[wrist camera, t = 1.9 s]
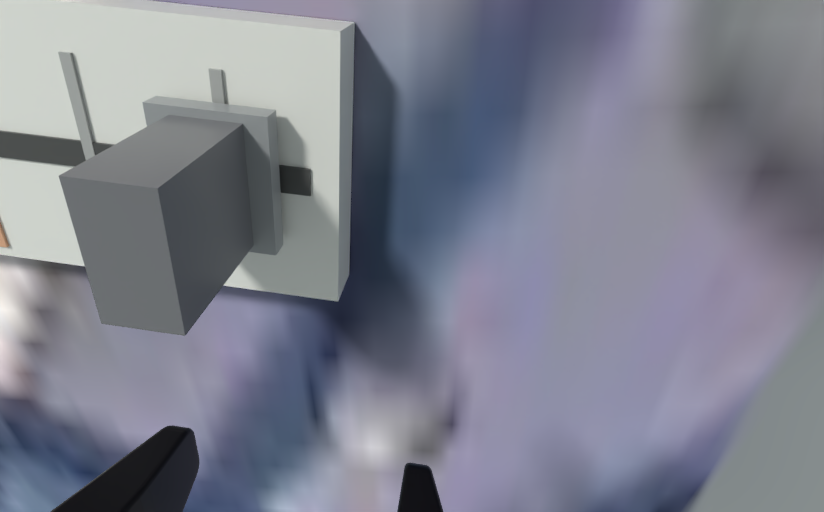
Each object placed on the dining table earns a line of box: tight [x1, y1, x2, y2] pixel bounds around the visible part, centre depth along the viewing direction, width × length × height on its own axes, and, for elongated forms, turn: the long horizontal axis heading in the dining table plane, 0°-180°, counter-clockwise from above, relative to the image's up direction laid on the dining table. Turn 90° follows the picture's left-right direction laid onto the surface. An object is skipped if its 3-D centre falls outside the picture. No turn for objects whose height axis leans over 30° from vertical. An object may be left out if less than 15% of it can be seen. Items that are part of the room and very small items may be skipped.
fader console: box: [0, 0, 355, 301], centre depth 20 cm, size 20×10×2 cm, turn 85°
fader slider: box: [59, 96, 283, 336], centre depth 16 cm, size 4×5×6 cm
